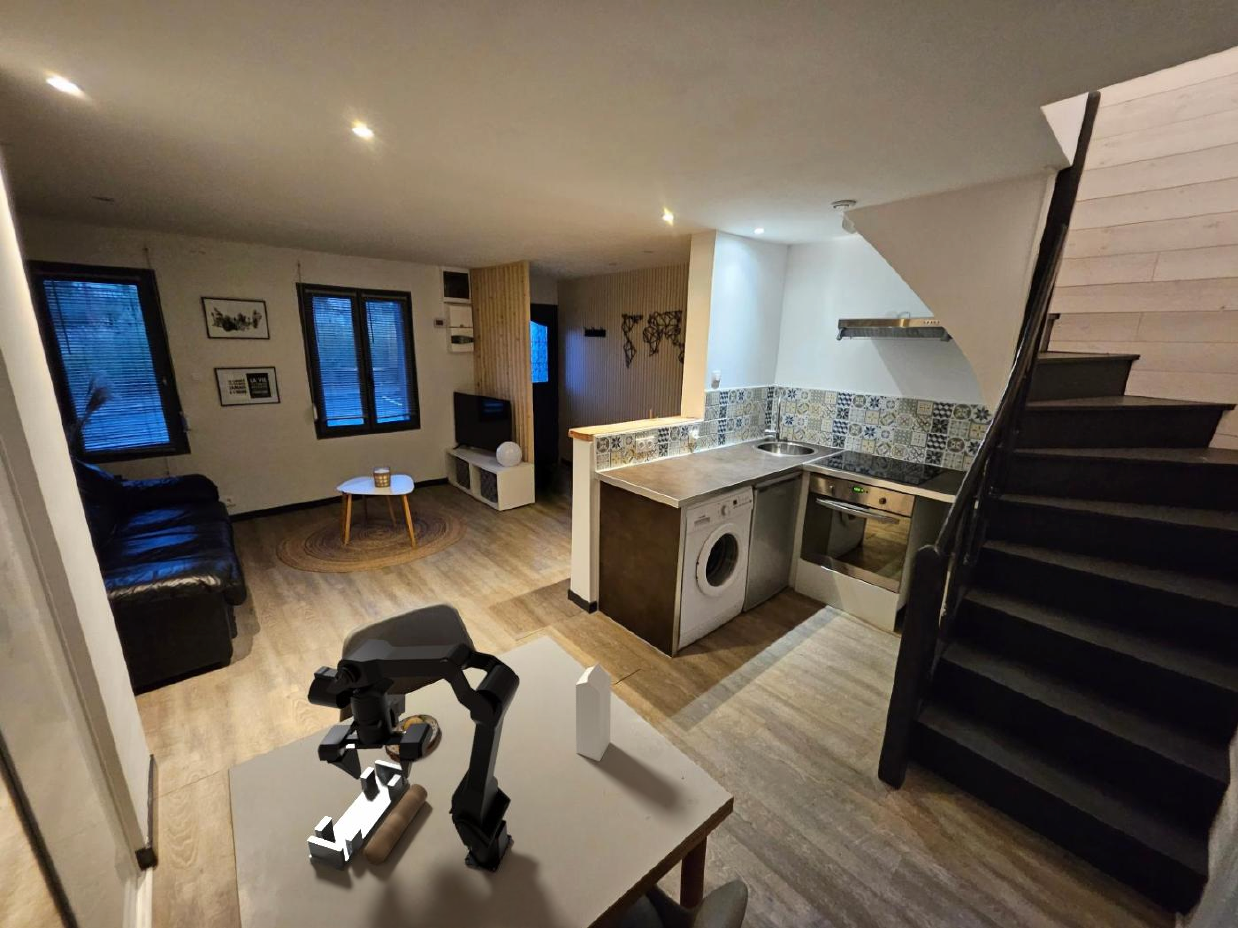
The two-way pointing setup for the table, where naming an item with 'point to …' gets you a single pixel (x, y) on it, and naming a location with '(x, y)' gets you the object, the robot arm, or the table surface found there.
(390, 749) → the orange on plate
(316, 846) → the cradle
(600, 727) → the milk
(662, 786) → the table surface
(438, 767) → the table surface
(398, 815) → the cylinder
